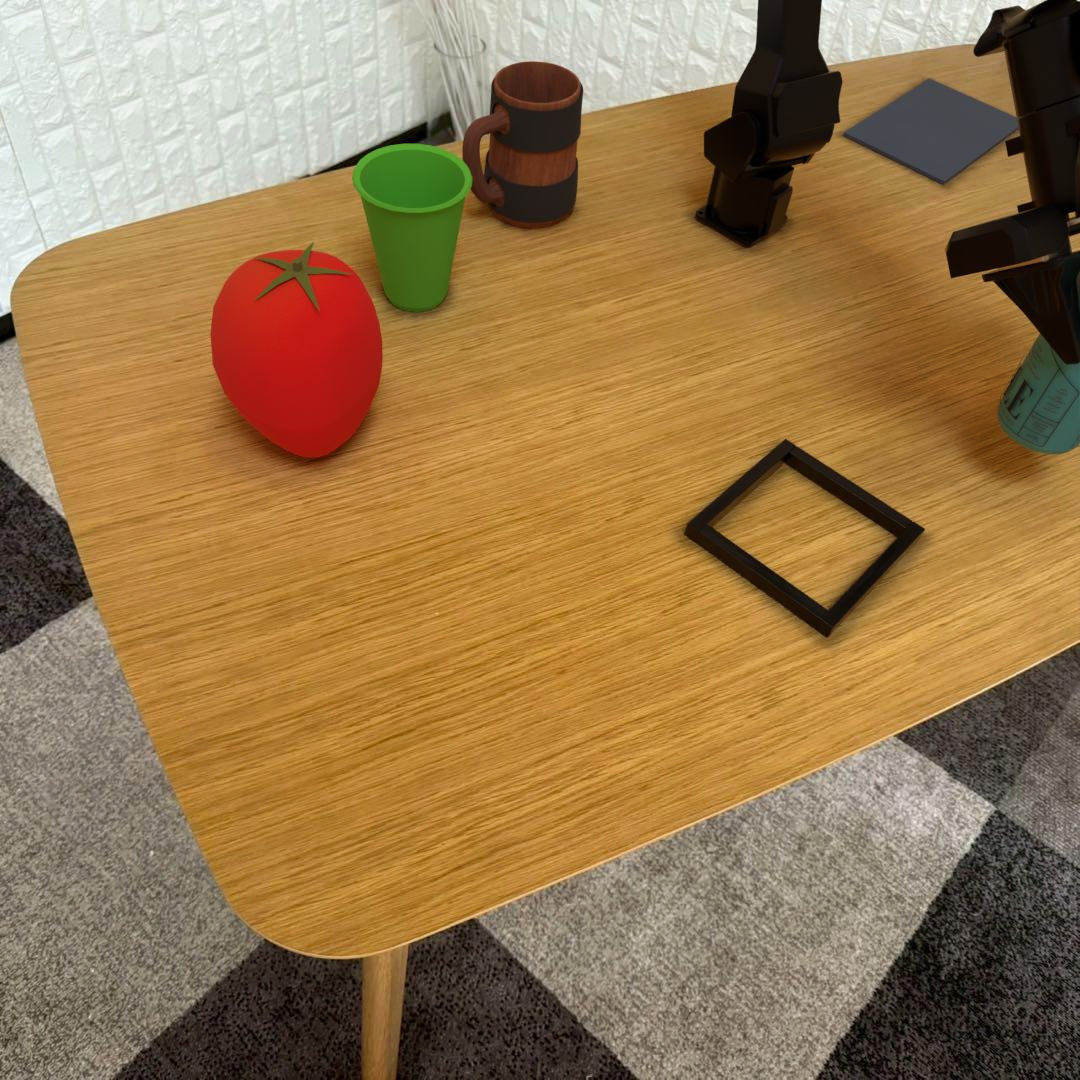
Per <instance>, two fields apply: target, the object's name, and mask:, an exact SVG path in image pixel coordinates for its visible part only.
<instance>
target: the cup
mask: <svg viewBox="0 0 1080 1080" xmlns="http://www.w3.org/2000/svg"><path fill="white" fill-rule="evenodd" d="M351 181H352V184H353V187H354V189H355V190H356V192H357V193H358V194H359V196H360V199H361V204H362V207H363V210H364V215H365V219H366V223H367V227H368V231H369V234H370V239H371V242H372V247H373V252H374V255H375V258H376V263H377V267H378V271H379V274H380V278H381V283H382V287H383V290H384V294H385V296H386V297H387V299H388V300H389V302H390V303H391V304H392V305H393V306H394V307H396V308H398V309H400V310H403V311H406V312H420V313H421V312H426V311H430V310H433V309H435V308H437V307H438V306H439V305H441V303H443V301H444V299H445V298H446V296H447V294H448V291H449V285H450V279H451V273H452V269H453V266H454V265H453V264H454V259H455V253H456V250H457V243H458V237H459V232H460V228H461V227H460V226H461V223H462V218H463V217H462V216H463V212H464V206H465V201H466V196H467V195H468V194H469V192H470V191H471V187H472V175H471V172H470V170H469V168H468V166H467V165H466V164H465V163H464V161H463V158H461V157H458V156H457V155H456V154H455V153H453V152H451V151H449V150H446V149H444V148H441V147H437V146H435V145H430V144H422V143H400V144H399V143H397V144H391V145H386V146H383V147H380V148H377V149H375V150H373V151H371V152H369V153H367V154H366V155H364V156H363V157H362V158H361V159H360V160H358V162H357V164H356V165H355V166H354V168H353V172H352V175H351Z"/></svg>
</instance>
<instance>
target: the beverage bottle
mask: <svg viewBox="0 0 1080 1080" xmlns="http://www.w3.org/2000/svg"><path fill="white" fill-rule="evenodd" d="M1077 291H1078V300H1079V309H1080V272H1079V274H1078V276H1077ZM1035 338H1036V339H1035ZM1035 338H1033V344H1032V346H1031V347H1028V348H1029V349H1028V352H1025V354H1023V357H1022V358H1021V360H1020V362H1019V364H1018V367H1016V369H1015V370H1014V373H1013V374H1012V376H1011V378H1010V380H1009V381H1008V382H1007V384H1006V386H1005V387H1004V389H1003V392H1002V393H1001V394H1000V396H1001V397H1000V398H999V399H998V400H997V401H998V404H997V413H996V417H997V421H998V424H999V426H1000V427H1001V429H1002V430H1003V432H1004V433H1005V434H1006V435H1007V436H1008V437H1009V438H1010V439H1011V440H1013V441H1014V442H1015V443H1017V444H1018V445H1020V446H1022V447H1023V448H1025V449H1028V450H1030V451H1032V452H1035V453H1039V454H1044V455H1052V456H1053V455H1062V454H1066V453H1069V452H1071V451H1072V450H1073V451H1074V449H1076V448H1078V447H1080V363H1078V364H1070V365H1067V364H1065V363H1064V362H1063V361H1062V360H1061V359H1060V357H1059V356H1058V355H1057V354H1056V352H1055V351H1054V350H1053V349H1052V347H1051V346H1050V345H1049V344H1048V342H1047V341H1046V340H1045V339H1044V337H1043V336H1042V335H1041V334H1040V333H1039V334H1038V335H1037V337H1035ZM1002 394H1003V395H1002Z"/></svg>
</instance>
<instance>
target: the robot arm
mask: <svg viewBox="0 0 1080 1080" xmlns="http://www.w3.org/2000/svg"><path fill="white" fill-rule="evenodd" d="M822 4H823V0H757V14H756V15H757V16H756V37H755V47H754V51H753V53H752V54H751V57H750V59H749V60H748V63H747V64H746V66H745V68H744V69H743V71H742V74H741V75H740V77H739V79H738V81H737V83H736V84H735V87H734V94H733V101H732V109H731V114H730V117H728V118H727V119H725V120H722V121H721V122H719V123H717V124H716V125H714V126H712V127H710V128H708V129H706V130H705V131H704V132H703V157H704V158H706V160H707V161H708V162H709V163H710V164H711V165H713V166H714V168H713V174H712V178H711V183H710V187H709V190H708V196H707V200H706V204H705V205H704V206H702V207H700V208H699V209H697V210H696V211H695V213H694V218H695V219H697V220H698V221H699V222H701V223H703V224H705V225H707V226H709V227H710V228H712V229H714V230H716V231H718V232H719V233H721V234H723V235H725V236H726V237H728V238H730V239H731V240H733V241H735V242H737V243H739V244H740V245H742V246H744V247H748V248H750V247H753V246H754V245H756V244H757V243H758V242H761V240H763V239H765V238H766V237H769V236H770V235H772V234H773V233H774V232H776V231H777V230H779V229H780V228H782V227H783V225H785V224H787V222H788V218H789V217H788V215H787V211H788V208H789V204H790V201H791V198H792V195H793V191H794V188H793V186H792V185H791V181H792V177H793V175H794V170H795V166H798V165H805V164H809V163H810V162H811V160H812V159H813V157H814V156H815V155H816V153H818V152H820V151H821V150H822V149H823V148H824V147H825V146H826V145H827V144H828V143H830V141H831V140H832V138H833V134H834V130H835V126H836V125H835V124H837V125H838V124H840V123H841V115H840V96H841V91H842V86H843V77H842V73H841V71H840V70H830V69H829V66H828V65H827V61H826V60H825V58H824V56H823V54H822V52H821V49H820V43H819V42H820V32H821V31H820V30H821V17H822ZM1003 52H1004V56H1005V61H1006V66H1007V73H1008V78H1009V84H1010V88H1011V89H1010V90H1011V94H1012V100H1013V105H1014V110H1015V111H1014V112H1015V117H1017V119H1018V120H1017V123H1018V134H1019V136H1016V137H1013V138H1010V139H1007V140H1004V143H1005V149H1006V154H1007V157H1008V158H1010V157H1013V156H1017V155H1021V154H1022V157H1023V161H1024V167H1025V172H1026V178H1027V183H1028V189H1029V195H1030V199H1031V201H1028V202H1025V203H1024V202H1023V203H1020V204H1017V205H1016V208H1017V213H1014V214H1010V215H1006V216H1001V217H998V218H995V219H991V220H988V221H985V222H981V223H977V224H974V225H971V226H967V227H964V228H961V229H958V230H954V231H952V233H951V235H950V238H949V240H948V242H947V244H946V246H945V248H944V251H945V257H946V262H947V266H948V271H949V276H950V279H955V278H960V277H964V276H969V275H974V274H979V273H982V272H983V274H981V279H982V281H983V283H990V282H993V283H994V284H995V285H996V286H997V287H998V289H1000V290H1001V292H1002V293H1003V294H1005V296H1006V297H1007V298H1008V299H1009V300H1010V301H1011V302H1012V303H1013V304H1014V305H1015V306H1016V307H1017V308H1018V309H1019V310H1020V311H1021V312H1022V314H1024V316H1025V317H1026V318H1027V319H1028V321H1030V323H1031V324H1032V325H1033V327H1034V328H1035V329H1036V330H1037V331H1038V333H1039V334H1041V335H1042V336H1043V337H1044V339H1045V340H1046V341H1047V342H1048V344H1049V345H1050V346H1051V347H1052V349H1053V350H1054V351H1055V352H1056V354H1057V355H1058V356H1059V357H1060V359H1061V360H1062V361H1063V362H1064V363H1065V364H1067V365H1070V364H1078V363H1080V309H1079V300H1078V291H1077V276H1078V274H1079V272H1080V250H1076V251H1073V249H1072V244H1071V238H1070V237H1073V236H1077V235H1079V234H1080V0H1044V1H1042V2H1039V3H1037V4H1036V5H1033V6H1031V7H1029V8H1027V9H1024V8H1023V7H1022V6H1020V5H1012V6H1008V7H1003V8H997V9H995V10H994V11H993V12H992V14H991V18H990V21H989V22H988V25H987V27H986V28H985V30H984V31H983V33H981V35H980V36H979V37H978V40H977V42H976V44H975V45H974V47H973V55H974V56H975V57H977V58H981V57H985V56H989V55H994V54H999V53H1003ZM1072 213H1074V216H1070V215H1069V214H1072ZM987 271H989V272H987ZM984 272H985V273H984Z"/></svg>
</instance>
